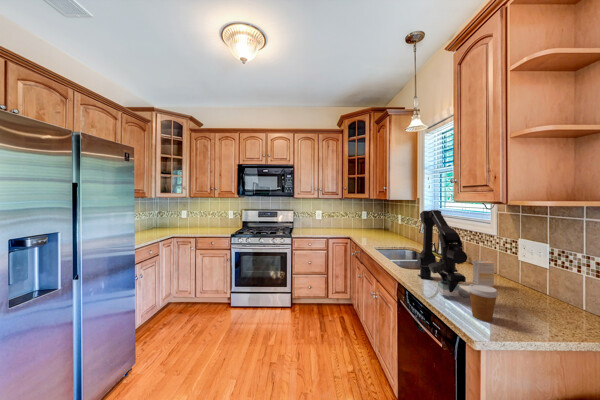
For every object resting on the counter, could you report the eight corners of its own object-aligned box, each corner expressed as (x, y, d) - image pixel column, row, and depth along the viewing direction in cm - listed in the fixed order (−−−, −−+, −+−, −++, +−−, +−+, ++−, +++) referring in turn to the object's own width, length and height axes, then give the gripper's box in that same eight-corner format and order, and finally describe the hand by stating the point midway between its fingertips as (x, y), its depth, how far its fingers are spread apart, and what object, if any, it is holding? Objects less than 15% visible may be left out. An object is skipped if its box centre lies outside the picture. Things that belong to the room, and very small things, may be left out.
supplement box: (488, 284, 131) (488, 260, 131) (494, 287, 126) (494, 262, 126) (472, 283, 132) (472, 260, 132) (477, 286, 127) (478, 262, 127)
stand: (450, 286, 127) (450, 283, 127) (477, 288, 125) (477, 285, 125) (464, 297, 114) (464, 293, 114) (493, 298, 113) (493, 295, 112)
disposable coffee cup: (471, 309, 102) (471, 281, 102) (499, 318, 95) (500, 288, 95) (464, 317, 96) (465, 287, 95) (494, 326, 88) (495, 294, 88)
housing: (437, 290, 117) (438, 280, 117) (453, 291, 117) (453, 281, 116) (442, 294, 112) (442, 284, 112) (458, 295, 112) (458, 285, 111)
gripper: (423, 252, 124) (422, 282, 125) (439, 262, 106) (439, 297, 106) (446, 253, 123) (445, 283, 123) (466, 263, 104) (466, 298, 105)
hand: (448, 289), depth 114 cm, fingers closed on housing, 5 cm apart
